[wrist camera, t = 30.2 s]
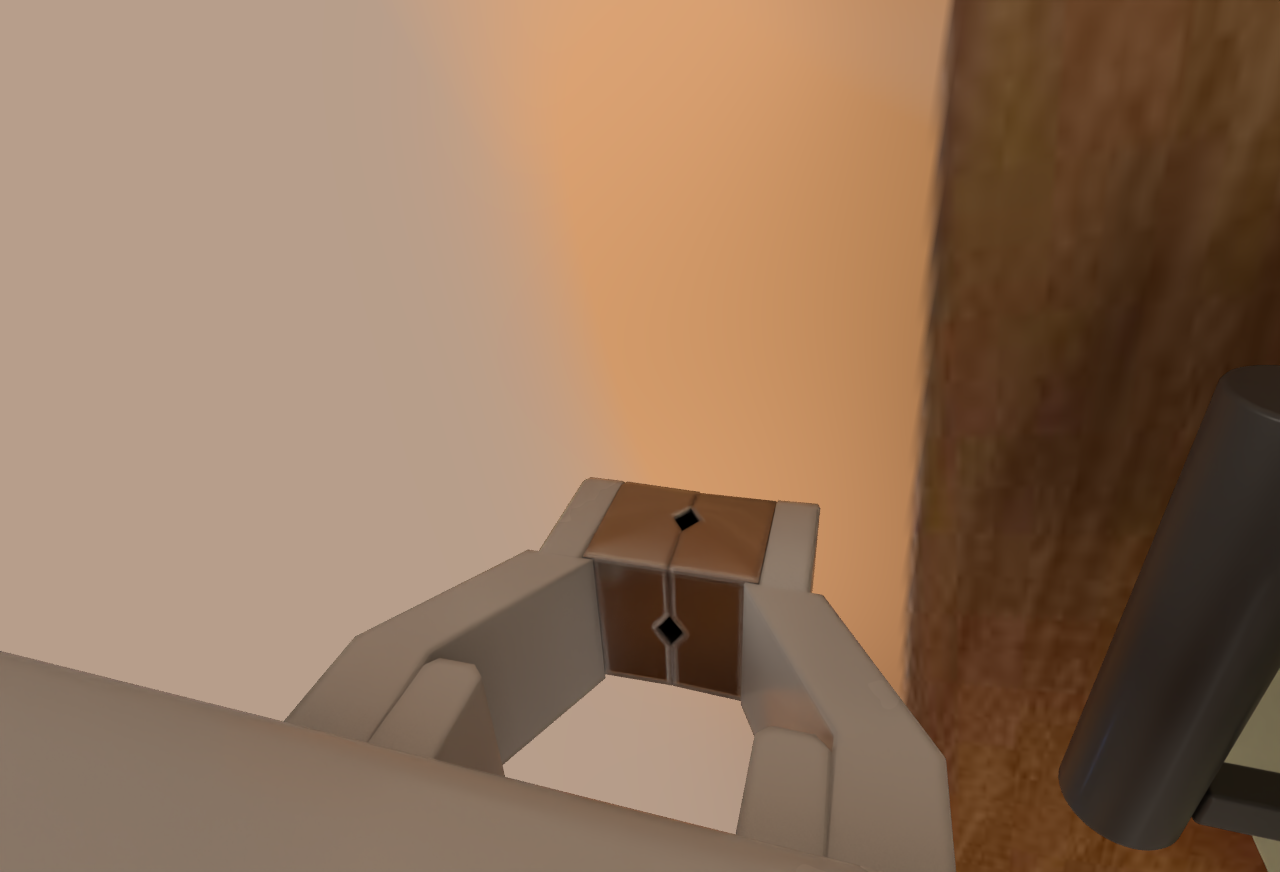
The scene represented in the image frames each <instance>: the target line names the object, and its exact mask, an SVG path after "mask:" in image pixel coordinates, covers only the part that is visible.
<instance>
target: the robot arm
mask: <svg viewBox="0 0 1280 872" xmlns="http://www.w3.org/2000/svg"><path fill="white" fill-rule="evenodd" d="M819 515H820V507H819V505H818V504H812V503H801V502H790V501H778V502H776V501H769V500H760V499H751V498H741V497H732V496H724V495H714V494H705V493H700V492H696V491H689V490H681V489H675V488H668V487H661V486H653V485H647V484H639V483H633V482H626V483H625V482H623V481H618V480H609V479H601V478H593V477H590V478H589V479H586V480H584V481H583V482H582V484H581V485H580V487H579V489H578V490H577V492H576V493H575V495H574V496H573V498H572V499H571V501H570V503H569V504H568V506H567V507H566V509H565V511H564V512H563V514H562V515H561V517H560V518H559V520H558V521H557V523H556V525H555V526H554V528H553V529H552V531H551V533H550V534H549V536H548V537H547V539H546V540H545V542H544V544H543V545H542V547H541V548H540V550H539V551H533V550H526V551H525V552H523V553H521V554H518V555H517V556H515V557H513V558H511V559H509V560H507V561H505V562H503V563H501V564H499V565H497V566H495V567H493V568H491V569H489V570H487V571H485V572H483V573H481V574H479V575H477V576H475V577H473V578H471V579H469V580H467V581H465V582H463V583H461V584H459V585H457V586H455V587H453V588H451V589H449V590H447V591H445V592H443V593H441V594H439V595H437V596H435V597H433V598H431V599H429V600H427V601H425V602H423V603H421V604H419V605H417V606H415V607H413V608H411V609H409V610H407V611H405V612H403V613H401V614H399V615H397V616H395V617H393V618H391V619H389V620H387V621H385V622H383V623H381V624H379V625H377V626H375V627H373V628H371V629H369V630H367V631H366V632H364V633H361V634H359V635H357V636H355V637H354V639H353V640H352V641H351V642H350V643H349V645H348V646H347V647H346V648H345V649H344V650H343V652H342V653H341V654H340V655H339V656H338V658H337V659H336V660H335V661H334V662H333V664H332V665H331V666H330V667H329V668H328V669H327V671H326V672H325V673H324V674H323V675H322V677H321V678H320V679H319V680H318V681H317V683H316V684H315V685H314V686H313V687H312V689H311V690H310V691H309V692H308V693H307V694H306V696H305V697H304V698H303V699H302V700H301V701H300V703H299V704H298V705H297V706H296V708H295V709H294V710H293V711H292V712H291V713H290V715H289V716H288V717H287V718H286V719H285V721H284V722H282V721H279V720H275V719H271V718H267V717H263V716H259V715H255V714H251V713H247V712H243V711H239V710H235V709H231V708H227V707H223V706H219V705H215V704H211V703H206V702H202V701H198V700H195V699H190V698H187V697H183V696H179V695H175V694H171V693H167V692H163V691H159V690H155V689H150V688H146V687H143V686H139V685H134V684H131V683H127V682H122V681H118V680H114V679H111V678H107V677H102V676H98V675H95V674H91V673H87V672H83V671H79V670H75V669H70V668H67V667H62V666H59V665H54V664H50V663H46V662H43V661H39V660H34V659H30V658H26V657H22V656H18V655H14V654H10V653H6V652H2V651H0V872H956V868H955V857H954V846H953V834H952V823H951V812H950V801H949V790H948V779H947V768H946V759H945V757H944V756H943V755H942V753H941V752H940V751H939V749H938V748H937V747H936V745H935V744H934V743H933V741H932V740H931V739H930V737H929V736H928V735H927V733H926V732H925V731H924V729H923V728H922V727H921V725H920V724H919V723H918V721H917V720H916V719H915V717H914V716H913V715H912V713H911V712H910V711H909V709H908V708H907V707H906V705H905V704H904V703H903V701H902V700H901V699H900V697H899V696H898V695H897V693H896V692H895V691H894V689H893V688H892V687H891V685H890V684H889V683H888V681H887V680H886V679H885V677H884V676H883V675H882V673H881V672H880V671H879V669H878V668H877V667H876V665H875V664H874V663H873V661H872V660H871V659H870V657H869V656H868V655H867V654H866V652H865V651H864V649H863V648H862V647H861V645H860V644H859V643H858V641H857V640H856V639H855V637H854V636H853V635H852V633H851V632H850V631H849V629H848V628H847V627H846V625H845V624H844V623H843V621H842V620H841V619H840V618H839V616H838V615H837V613H836V612H835V611H834V609H833V608H832V607H831V605H830V604H829V603H828V601H827V600H826V599H825V597H824V596H823V595H820V594H813V593H812V588H813V577H814V567H815V557H816V547H817V536H818V525H819ZM605 674H608V675H614V676H620V677H626V678H632V679H637V680H643V681H649V682H655V683H661V684H667V685H673V686H677V687H682V688H686V689H690V690H695V691H699V692H703V693H708V694H712V695H717V696H721V697H726V698H730V699H735V700H739V701H741V706H742V708H743V710H744V712H745V715H746V718H747V720H748V723H749V725H750V727H751V730H752V732H753V735H754V741H753V746H752V752H751V757H750V762H749V767H748V773H747V778H746V783H745V788H744V793H743V799H742V804H741V809H740V814H739V820H738V825H737V830H736V835H735V834H731V833H727V832H723V831H719V830H715V829H711V828H707V827H703V826H699V825H694V824H691V823H687V822H683V821H679V820H674V819H671V818H667V817H663V816H659V815H655V814H651V813H647V812H643V811H639V810H634V809H631V808H627V807H622V806H619V805H614V804H610V803H607V802H603V801H598V800H595V799H590V798H587V797H582V796H579V795H575V794H571V793H567V792H563V791H559V790H555V789H551V788H547V787H543V786H539V785H535V784H531V783H527V782H522V781H519V780H515V779H511V778H507V777H505V775H504V771H503V766H502V765H503V764H504V763H505V762H507V761H508V760H509V759H510V758H511V757H512V756H514V755H515V754H516V753H517V752H518V751H520V750H521V749H522V748H523V747H524V746H526V745H527V744H528V743H529V742H530V741H532V739H534V738H535V737H536V736H537V735H539V734H540V733H541V732H542V731H543V730H545V729H546V728H547V727H548V726H549V725H550V724H552V723H553V722H554V721H555V720H556V719H557V718H559V717H560V716H561V715H562V714H563V713H564V712H566V711H567V710H568V709H569V708H571V707H572V706H573V705H574V704H575V703H577V702H578V701H579V700H580V699H581V698H582V697H584V696H585V695H586V694H587V693H588V692H589V691H591V690H592V689H593V688H594V687H595V686H597V685H598V684H599V683H600V682H601V681H603V680H604V679H605Z"/></svg>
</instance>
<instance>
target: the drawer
mask: <svg viewBox="0 0 1280 872" xmlns="http://www.w3.org/2000/svg"><path fill="white" fill-rule="evenodd" d="M1059 784H1060V787H1061V790H1062V793H1063V795H1064V798H1065V800H1066V801H1067V803H1068V805H1069V806H1070V807H1071V809H1072V810H1073V811H1074V812H1075V814H1076V815H1077V816H1078V817H1079V818H1080V819H1081V820H1082V821H1083V822H1084V823H1085V824H1086V825H1088V826H1089V827H1090V828H1091V829H1093V830H1094V831H1096V832H1097V833H1098V834H1100V835H1102V836H1103V837H1105V838H1107V839H1109V840H1111V841H1113V842H1115V843H1117V844H1120V845H1123V846H1126V847H1129V848H1133V849H1138V850H1158V849H1162V848H1166V847H1168V846H1170V845H1172V844H1173V843H1175V842H1176V841H1177V839H1178V838H1179V837H1180V835H1181V833H1182V832H1183V830H1184V828H1185V827H1186V825H1187V823H1188V822H1189V820H1190V818H1191V817H1192V818H1193V820H1194V821H1195V822H1196V823H1198V824H1201V825H1206V826H1211V827H1215V828H1220V829H1224V830H1229V831H1234V832H1238V833H1243V834H1248V835H1252V837H1253V839H1254V841H1255V844H1256V846H1257V848H1258V850H1259V853H1260V855H1261V857H1262V859H1263V861H1264V864H1265V866H1266V868H1267V870H1268V872H1280V366H1278V365H1254V366H1245V367H1240V368H1236V369H1233V370H1230V371H1229V372H1227V373H1226V374H1225V375H1223V376H1222V377H1221V378H1220V380H1219V382H1218V384H1217V387H1216V389H1215V391H1214V394H1213V396H1212V399H1211V401H1210V404H1209V406H1208V408H1207V411H1206V413H1205V416H1204V418H1203V421H1202V423H1201V425H1200V428H1199V430H1198V433H1197V435H1196V438H1195V440H1194V442H1193V445H1192V447H1191V450H1190V452H1189V455H1188V457H1187V459H1186V462H1185V464H1184V467H1183V469H1182V471H1181V474H1180V476H1179V479H1178V481H1177V484H1176V486H1175V488H1174V491H1173V493H1172V496H1171V498H1170V501H1169V503H1168V505H1167V508H1166V510H1165V513H1164V515H1163V518H1162V520H1161V522H1160V525H1159V527H1158V530H1157V532H1156V535H1155V537H1154V539H1153V542H1152V544H1151V547H1150V549H1149V552H1148V554H1147V556H1146V559H1145V561H1144V564H1143V566H1142V569H1141V571H1140V573H1139V576H1138V578H1137V581H1136V583H1135V586H1134V588H1133V590H1132V593H1131V595H1130V598H1129V600H1128V603H1127V605H1126V607H1125V610H1124V612H1123V615H1122V617H1121V620H1120V622H1119V624H1118V627H1117V629H1116V632H1115V634H1114V637H1113V639H1112V641H1111V644H1110V646H1109V649H1108V651H1107V654H1106V656H1105V658H1104V661H1103V663H1102V666H1101V668H1100V671H1099V673H1098V675H1097V678H1096V680H1095V683H1094V685H1093V688H1092V690H1091V692H1090V695H1089V697H1088V700H1087V702H1086V705H1085V707H1084V709H1083V712H1082V714H1081V717H1080V719H1079V722H1078V724H1077V726H1076V729H1075V731H1074V734H1073V736H1072V739H1071V741H1070V743H1069V746H1068V748H1067V751H1066V753H1065V755H1064V758H1063V760H1062V763H1061V765H1060V768H1059Z"/></svg>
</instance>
